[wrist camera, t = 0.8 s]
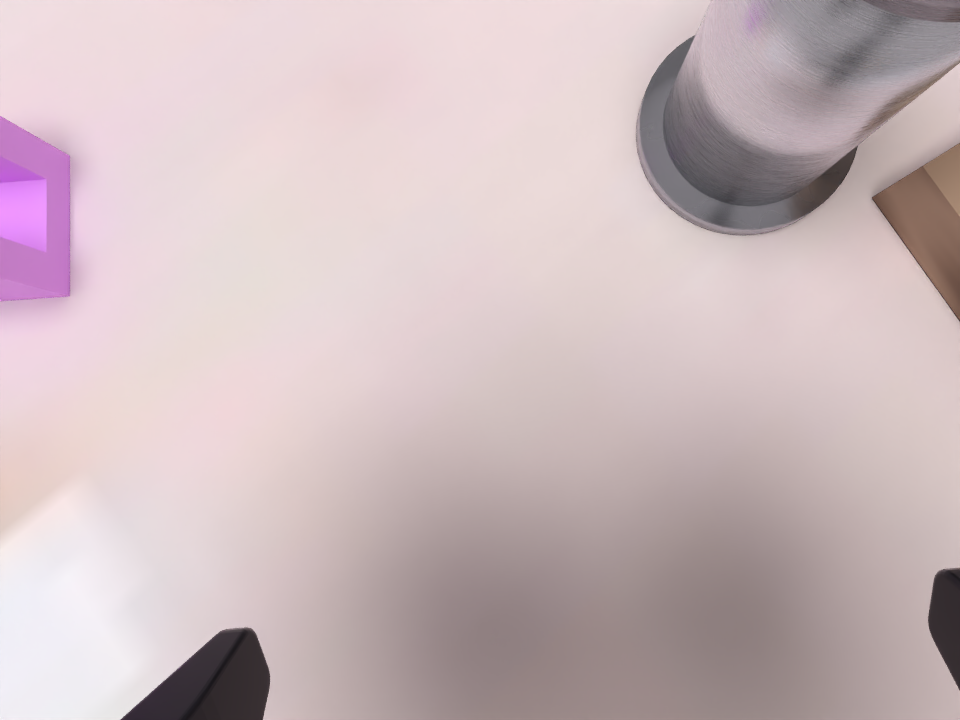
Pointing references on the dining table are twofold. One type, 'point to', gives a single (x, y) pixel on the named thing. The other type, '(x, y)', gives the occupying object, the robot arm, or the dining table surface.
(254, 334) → the dining table surface
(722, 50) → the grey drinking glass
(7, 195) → the bracket
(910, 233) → the stand
